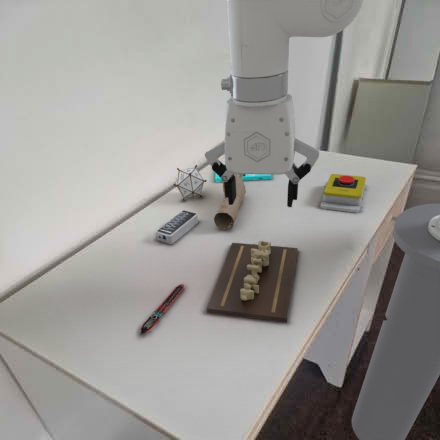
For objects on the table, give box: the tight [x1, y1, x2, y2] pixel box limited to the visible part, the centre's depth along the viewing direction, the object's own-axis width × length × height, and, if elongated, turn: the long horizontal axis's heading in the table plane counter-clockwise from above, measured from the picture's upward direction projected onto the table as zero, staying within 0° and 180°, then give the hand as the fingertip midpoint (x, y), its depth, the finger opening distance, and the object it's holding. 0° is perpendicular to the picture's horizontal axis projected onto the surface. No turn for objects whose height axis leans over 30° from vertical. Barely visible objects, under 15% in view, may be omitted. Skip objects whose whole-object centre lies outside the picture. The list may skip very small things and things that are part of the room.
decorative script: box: [240, 240, 272, 301], centre depth 70 cm, size 17×4×3 cm, turn 166°
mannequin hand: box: [213, 173, 247, 231], centre depth 93 cm, size 7×7×25 cm
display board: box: [206, 242, 299, 323], centre depth 71 cm, size 14×21×1 cm, turn 166°
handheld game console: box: [214, 163, 272, 183], centre depth 108 cm, size 10×16×1 cm, turn 89°
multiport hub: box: [155, 209, 199, 245], centre depth 86 cm, size 4×11×2 cm, turn 148°
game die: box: [172, 164, 208, 202], centre depth 97 cm, size 9×8×10 cm
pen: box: [140, 283, 185, 335], centre depth 67 cm, size 2×14×1 cm, turn 154°
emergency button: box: [319, 173, 367, 214], centre depth 93 cm, size 9×4×15 cm
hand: (260, 202), depth 61 cm, fingers open, 9 cm apart
